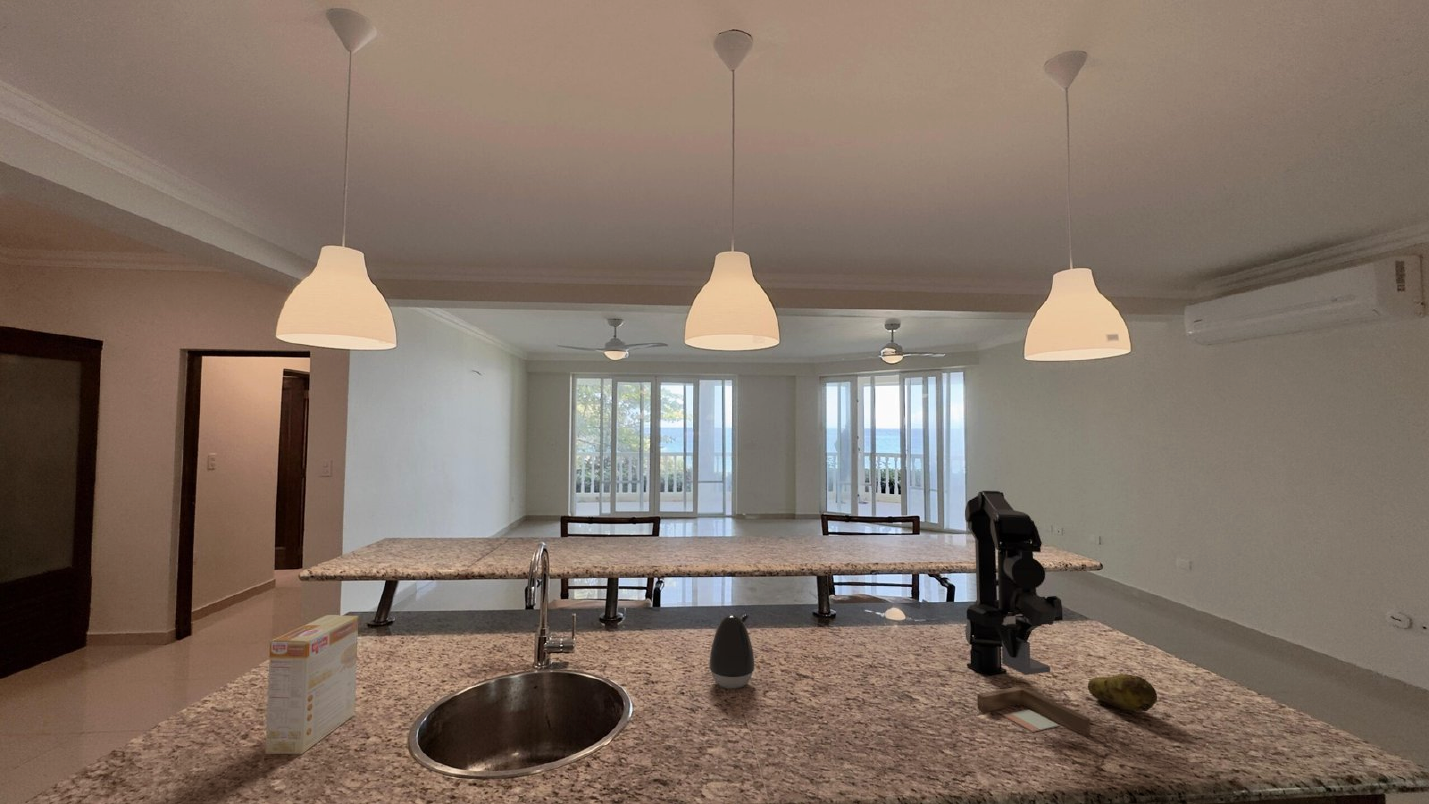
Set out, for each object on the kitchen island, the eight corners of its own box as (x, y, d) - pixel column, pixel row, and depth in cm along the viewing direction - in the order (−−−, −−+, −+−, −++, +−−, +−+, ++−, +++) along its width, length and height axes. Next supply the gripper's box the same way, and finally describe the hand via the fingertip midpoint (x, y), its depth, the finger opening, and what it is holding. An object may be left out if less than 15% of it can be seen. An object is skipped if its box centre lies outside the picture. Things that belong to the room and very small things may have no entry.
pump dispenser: (764, 683, 134) (764, 615, 135) (733, 698, 126) (734, 625, 127) (730, 671, 141) (730, 606, 142) (699, 684, 133) (700, 615, 134)
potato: (1121, 696, 128) (1120, 659, 129) (1166, 725, 115) (1165, 683, 116) (1083, 696, 128) (1082, 658, 129) (1123, 725, 116) (1122, 683, 116)
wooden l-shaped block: (1019, 699, 127) (1019, 685, 127) (1090, 735, 112) (1089, 718, 112) (975, 708, 122) (975, 693, 123) (1043, 746, 107) (1042, 729, 108)
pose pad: (1028, 710, 121) (1028, 709, 122) (1059, 726, 115) (1059, 725, 115) (1002, 715, 119) (1002, 714, 119) (1032, 732, 112) (1032, 731, 112)
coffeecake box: (321, 714, 118) (326, 614, 119) (356, 714, 118) (360, 614, 119) (262, 754, 103) (267, 640, 104) (302, 755, 103) (307, 640, 104)
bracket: (1002, 663, 120) (1001, 633, 121) (1026, 661, 122) (1025, 631, 122) (1025, 675, 115) (1024, 643, 115) (1050, 672, 116) (1049, 640, 117)
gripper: (1005, 589, 109) (1007, 677, 107) (1085, 583, 114) (1088, 667, 113) (964, 576, 119) (965, 655, 118) (1038, 571, 124) (1040, 647, 123)
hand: (1015, 656), depth 118 cm, fingers closed on bracket
